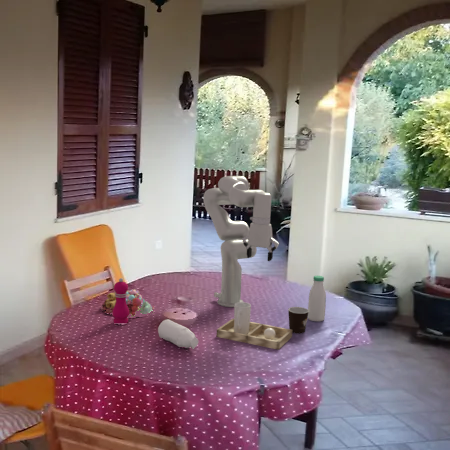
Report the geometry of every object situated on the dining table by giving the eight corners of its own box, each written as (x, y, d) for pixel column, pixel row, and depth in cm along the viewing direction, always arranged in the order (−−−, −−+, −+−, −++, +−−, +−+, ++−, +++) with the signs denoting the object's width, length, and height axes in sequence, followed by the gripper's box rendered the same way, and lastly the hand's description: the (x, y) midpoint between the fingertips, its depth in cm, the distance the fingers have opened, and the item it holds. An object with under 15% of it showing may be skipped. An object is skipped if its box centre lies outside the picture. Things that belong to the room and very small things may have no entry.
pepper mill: (132, 322, 256) (133, 277, 253) (122, 327, 250) (123, 281, 246) (118, 319, 259) (118, 275, 256) (108, 324, 253) (108, 278, 249)
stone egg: (261, 340, 238) (262, 329, 237) (265, 336, 243) (266, 325, 242) (272, 342, 236) (273, 331, 235) (276, 338, 241) (277, 327, 240)
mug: (236, 328, 251) (237, 301, 249) (251, 330, 249) (252, 303, 246) (228, 336, 242) (229, 308, 239) (243, 338, 239) (245, 310, 237)
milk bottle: (324, 322, 265) (327, 279, 261) (306, 320, 266) (309, 278, 263) (324, 317, 272) (327, 275, 268) (308, 315, 274) (310, 273, 270)
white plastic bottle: (186, 355, 223) (186, 335, 222) (157, 340, 237) (157, 321, 235) (202, 350, 228) (203, 330, 227) (173, 335, 242) (173, 317, 241)
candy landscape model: (91, 313, 266) (91, 293, 264) (117, 299, 288) (117, 281, 286) (141, 321, 258) (142, 301, 257) (164, 306, 280) (164, 287, 279)
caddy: (216, 338, 241) (216, 329, 240) (232, 326, 255) (233, 318, 254) (278, 351, 230) (279, 342, 229) (292, 338, 244) (292, 329, 243)
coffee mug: (294, 337, 245) (295, 314, 243) (283, 330, 253) (284, 308, 251) (317, 333, 251) (318, 311, 249) (305, 327, 258) (306, 305, 256)
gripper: (239, 219, 257) (237, 257, 260) (276, 224, 250) (274, 263, 253) (246, 217, 264) (244, 254, 267) (283, 221, 257) (280, 260, 260)
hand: (259, 258), depth 260 cm, fingers open, 9 cm apart
